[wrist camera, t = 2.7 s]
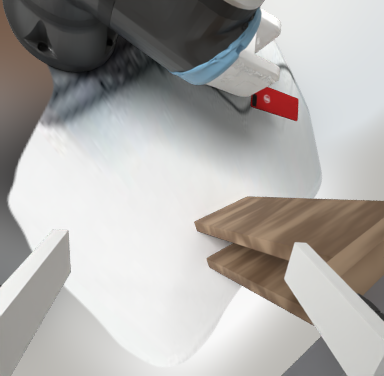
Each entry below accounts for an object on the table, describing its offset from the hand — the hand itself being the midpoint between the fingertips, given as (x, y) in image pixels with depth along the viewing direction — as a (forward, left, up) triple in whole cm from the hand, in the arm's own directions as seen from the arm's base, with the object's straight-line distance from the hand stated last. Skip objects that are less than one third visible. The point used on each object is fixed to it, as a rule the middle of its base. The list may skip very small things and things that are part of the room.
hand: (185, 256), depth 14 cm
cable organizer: (-21, +30, -29) cm, 47 cm away
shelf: (+12, +20, -29) cm, 37 cm away
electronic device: (-11, +44, -30) cm, 54 cm away
